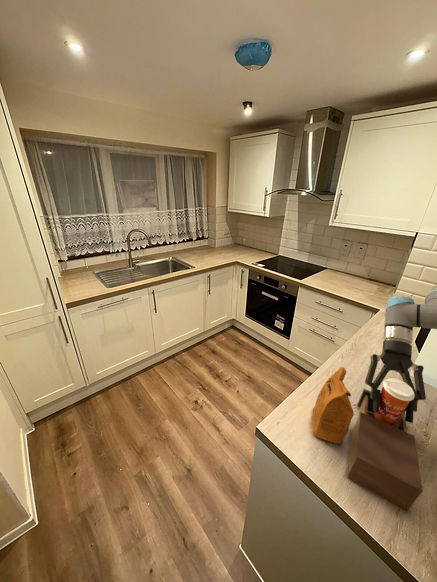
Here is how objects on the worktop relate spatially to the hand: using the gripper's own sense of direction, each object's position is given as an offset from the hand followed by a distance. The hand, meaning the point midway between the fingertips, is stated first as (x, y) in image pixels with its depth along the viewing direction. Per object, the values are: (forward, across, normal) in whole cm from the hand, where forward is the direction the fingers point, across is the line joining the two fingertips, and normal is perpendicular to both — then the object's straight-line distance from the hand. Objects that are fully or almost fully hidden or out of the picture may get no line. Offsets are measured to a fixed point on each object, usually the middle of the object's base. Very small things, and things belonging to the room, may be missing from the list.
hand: (392, 416), depth 70 cm
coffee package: (+9, +16, -7) cm, 20 cm away
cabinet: (+15, +3, -1) cm, 15 cm away
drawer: (+3, 0, -11) cm, 12 cm away
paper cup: (+1, 0, -6) cm, 6 cm away
